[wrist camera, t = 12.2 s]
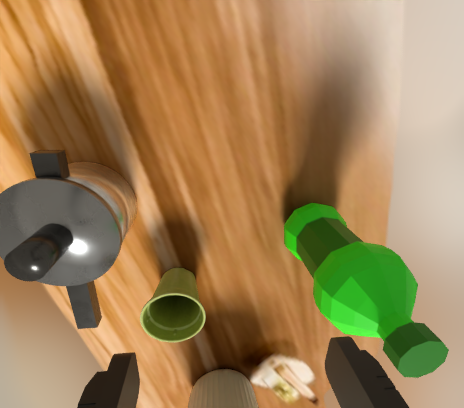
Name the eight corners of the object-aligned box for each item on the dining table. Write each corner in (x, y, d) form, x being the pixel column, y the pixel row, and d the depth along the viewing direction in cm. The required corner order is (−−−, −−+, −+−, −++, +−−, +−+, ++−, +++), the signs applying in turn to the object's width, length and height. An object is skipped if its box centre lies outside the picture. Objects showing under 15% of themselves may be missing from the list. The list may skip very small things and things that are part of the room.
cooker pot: (28, 140, 34) (-29, 153, 25) (129, 141, 35) (106, 154, 27) (68, 288, 43) (36, 333, 35) (147, 284, 44) (134, 327, 36)
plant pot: (143, 266, 43) (129, 304, 35) (196, 252, 43) (195, 286, 35) (161, 306, 47) (153, 348, 39) (210, 293, 47) (212, 333, 39)
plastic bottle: (277, 252, 45) (356, 410, 22) (276, 197, 41) (371, 321, 18) (331, 244, 46) (463, 390, 22) (335, 190, 41) (501, 299, 18)
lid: (-23, 177, 26) (-90, 199, 20) (113, 176, 28) (88, 196, 22) (16, 282, 31) (-28, 325, 25) (129, 276, 33) (112, 315, 27)
